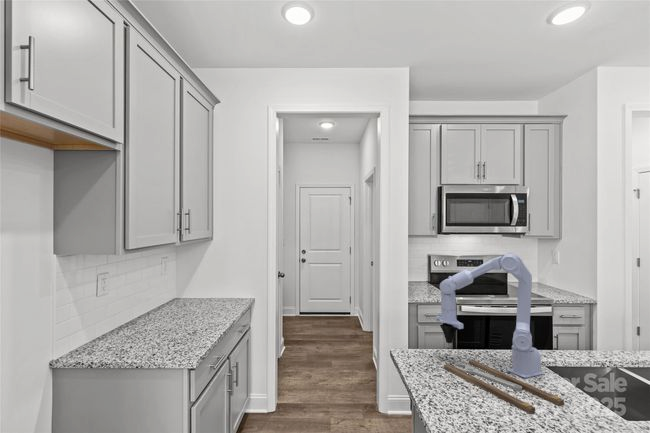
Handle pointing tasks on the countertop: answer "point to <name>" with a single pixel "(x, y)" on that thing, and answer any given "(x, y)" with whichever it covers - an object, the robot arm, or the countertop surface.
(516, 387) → the adjustable wrench
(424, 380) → the countertop surface
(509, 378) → the guide channel
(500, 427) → the countertop surface
